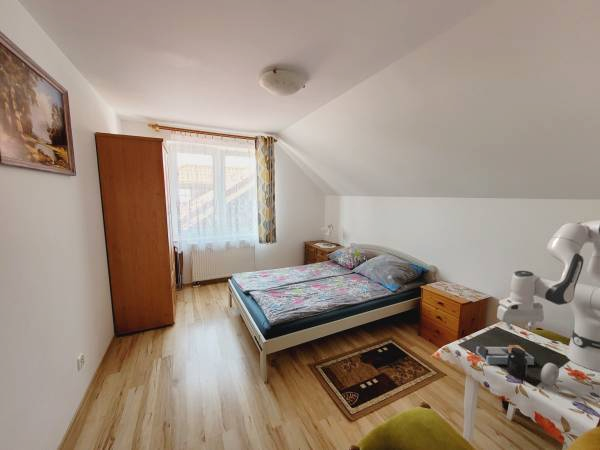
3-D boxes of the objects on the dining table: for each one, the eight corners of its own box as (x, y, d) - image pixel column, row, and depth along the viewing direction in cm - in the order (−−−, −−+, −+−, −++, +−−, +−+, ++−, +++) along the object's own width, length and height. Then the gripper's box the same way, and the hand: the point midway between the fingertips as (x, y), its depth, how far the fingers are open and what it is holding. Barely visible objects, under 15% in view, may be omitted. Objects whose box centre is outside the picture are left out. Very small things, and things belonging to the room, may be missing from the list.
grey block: (498, 353, 124) (499, 344, 124) (505, 359, 120) (506, 350, 119) (478, 353, 125) (479, 344, 124) (485, 358, 120) (485, 350, 120)
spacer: (516, 354, 124) (517, 345, 123) (524, 359, 119) (525, 350, 119) (508, 353, 124) (508, 345, 123) (515, 359, 119) (516, 350, 119)
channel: (518, 352, 126) (518, 346, 126) (534, 364, 117) (534, 358, 117) (475, 352, 127) (476, 346, 127) (488, 364, 118) (488, 357, 118)
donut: (548, 391, 101) (550, 369, 100) (537, 385, 104) (539, 364, 103) (559, 383, 105) (561, 363, 104) (548, 378, 108) (551, 358, 107)
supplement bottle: (530, 380, 107) (532, 356, 106) (512, 378, 109) (514, 354, 107) (519, 369, 114) (521, 346, 112) (503, 368, 115) (505, 345, 114)
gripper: (536, 300, 121) (534, 325, 122) (495, 300, 122) (493, 325, 123) (549, 305, 114) (546, 332, 116) (505, 306, 115) (503, 332, 117)
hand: (519, 329), depth 120 cm, fingers open, 8 cm apart
